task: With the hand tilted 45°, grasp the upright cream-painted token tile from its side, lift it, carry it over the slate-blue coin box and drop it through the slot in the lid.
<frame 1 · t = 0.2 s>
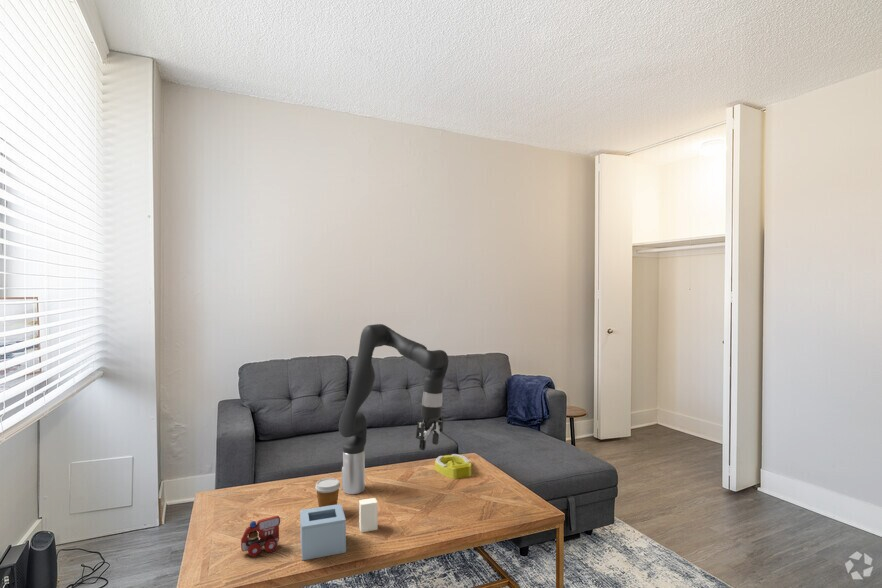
hand: (428, 446, 177), 28 cm above the table, tool pointing down, fingers open, 8 cm apart
toy fire truck: (261, 550, 160), on the table
ashtray: (453, 470, 227), on the table
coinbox: (322, 546, 161), on the table
disposable coffee cup: (328, 513, 185), on the table
token: (368, 528, 173), on the table
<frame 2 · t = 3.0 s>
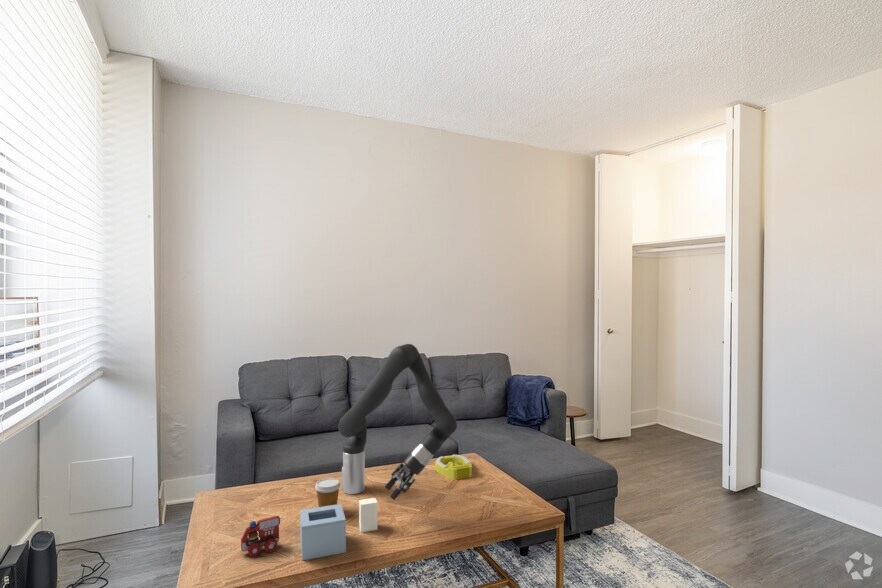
hand: (389, 493, 175), 12 cm above the table, tool tilted 45°, fingers open, 8 cm apart
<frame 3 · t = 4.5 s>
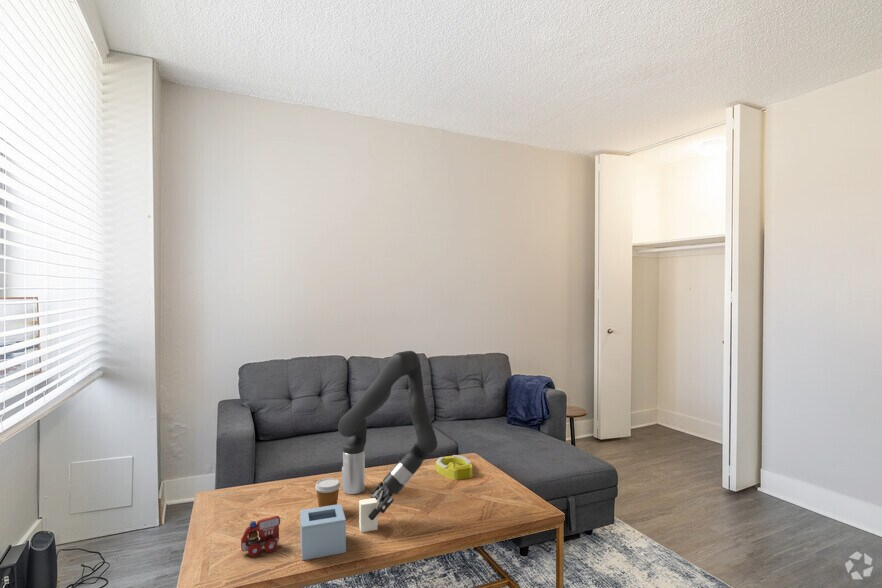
hand: (367, 513, 173), 6 cm above the table, tool tilted 45°, fingers open, 8 cm apart
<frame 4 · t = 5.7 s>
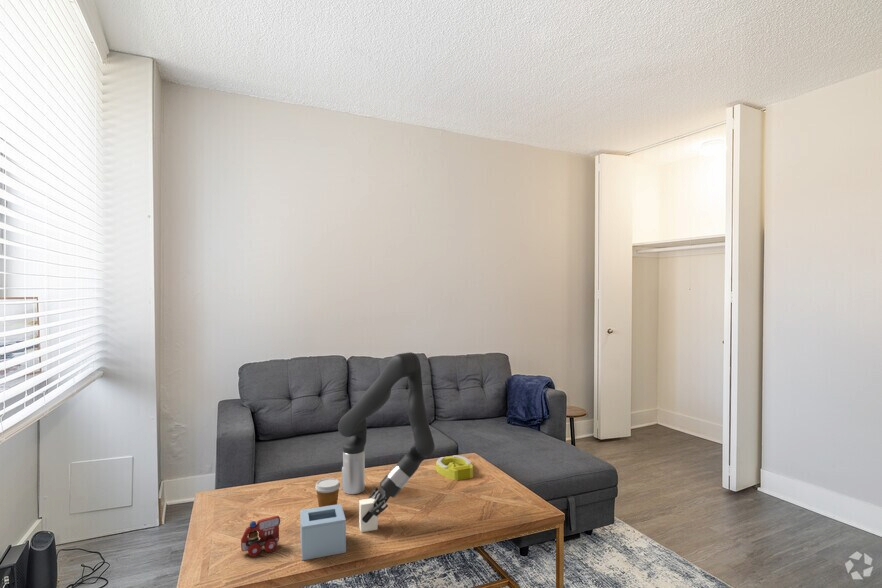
hand: (363, 518, 172), 4 cm above the table, tool tilted 45°, fingers closed on token, 4 cm apart
token: (368, 528, 173), on the table, touching gripper
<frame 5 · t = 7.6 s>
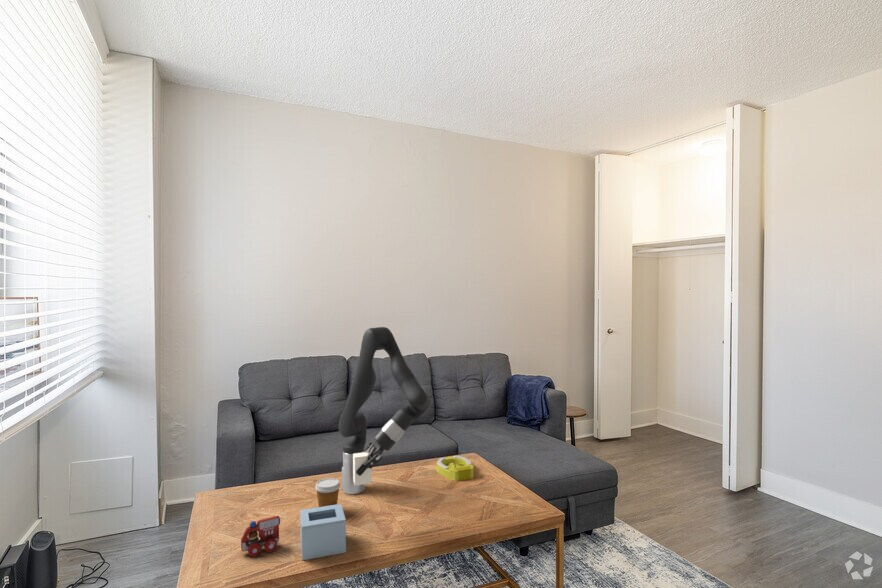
hand: (356, 471, 170), 22 cm above the table, tool tilted 45°, fingers closed on token, 4 cm apart
token: (362, 481, 171), point 18 cm above the table, touching gripper
when the fingers open (17 cm above the table, at t = 9.8 s): token drops 12 cm, resting on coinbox.
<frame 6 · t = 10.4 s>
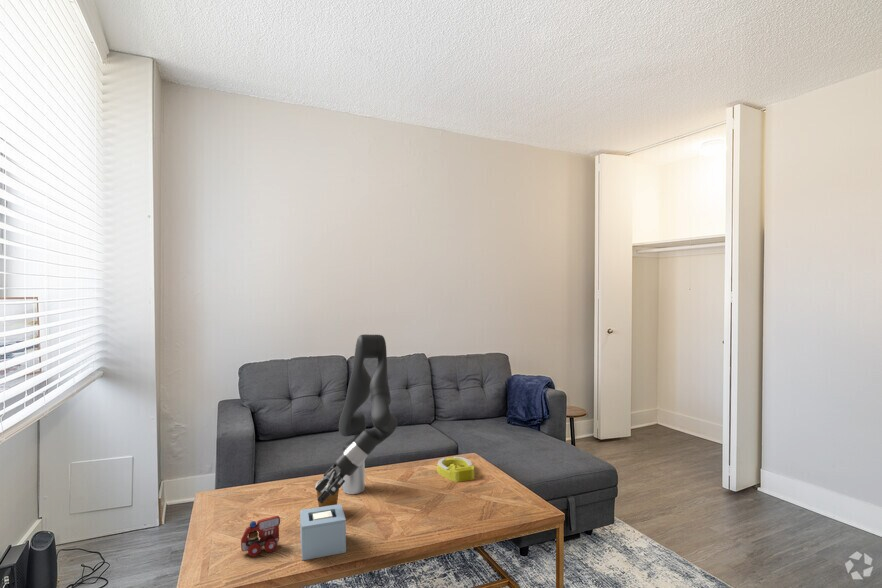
hand: (318, 495, 160), 18 cm above the table, tool tilted 45°, fingers open, 8 cm apart
token: (322, 543, 161), point 1 cm above the table, touching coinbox
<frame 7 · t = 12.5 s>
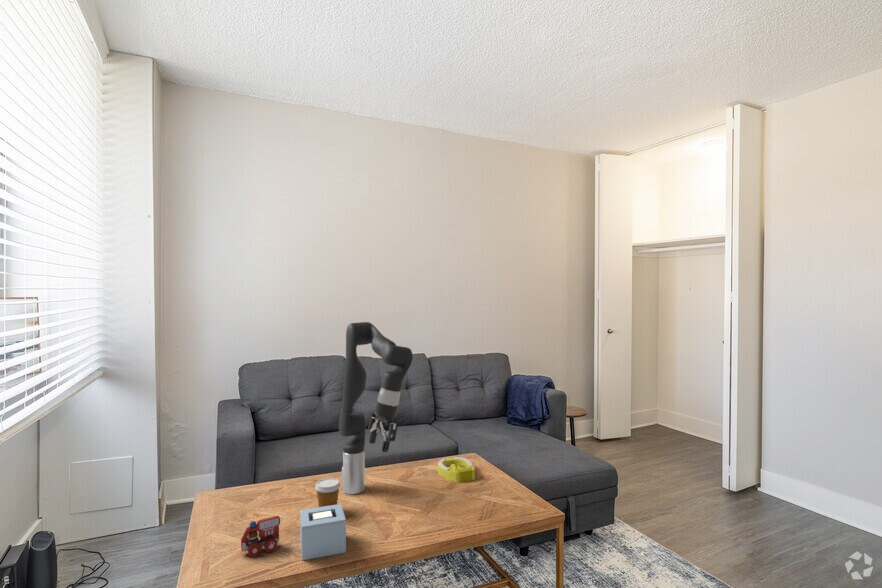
hand: (378, 447, 166), 32 cm above the table, tool pointing down, fingers open, 8 cm apart
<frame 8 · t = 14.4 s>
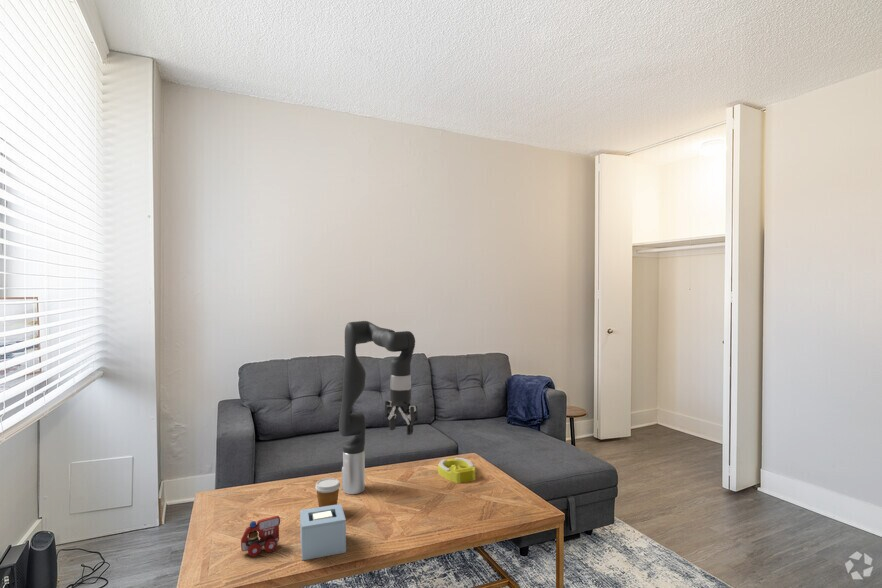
hand: (401, 432, 170), 36 cm above the table, tool pointing down, fingers open, 8 cm apart
at the end: token 0.0 cm from the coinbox (horizontally); token point 1.0 cm above the table; the gripper is holding nothing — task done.
